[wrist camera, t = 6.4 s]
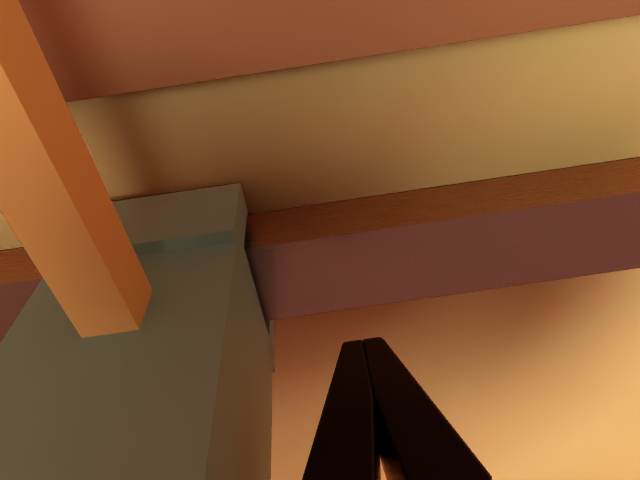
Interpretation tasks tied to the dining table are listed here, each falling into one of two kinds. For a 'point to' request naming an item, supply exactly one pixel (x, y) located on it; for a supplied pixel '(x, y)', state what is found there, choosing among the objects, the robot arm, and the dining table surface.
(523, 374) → the dining table surface
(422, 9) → the hole board
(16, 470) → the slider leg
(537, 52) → the dining table surface
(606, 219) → the gauge rail
